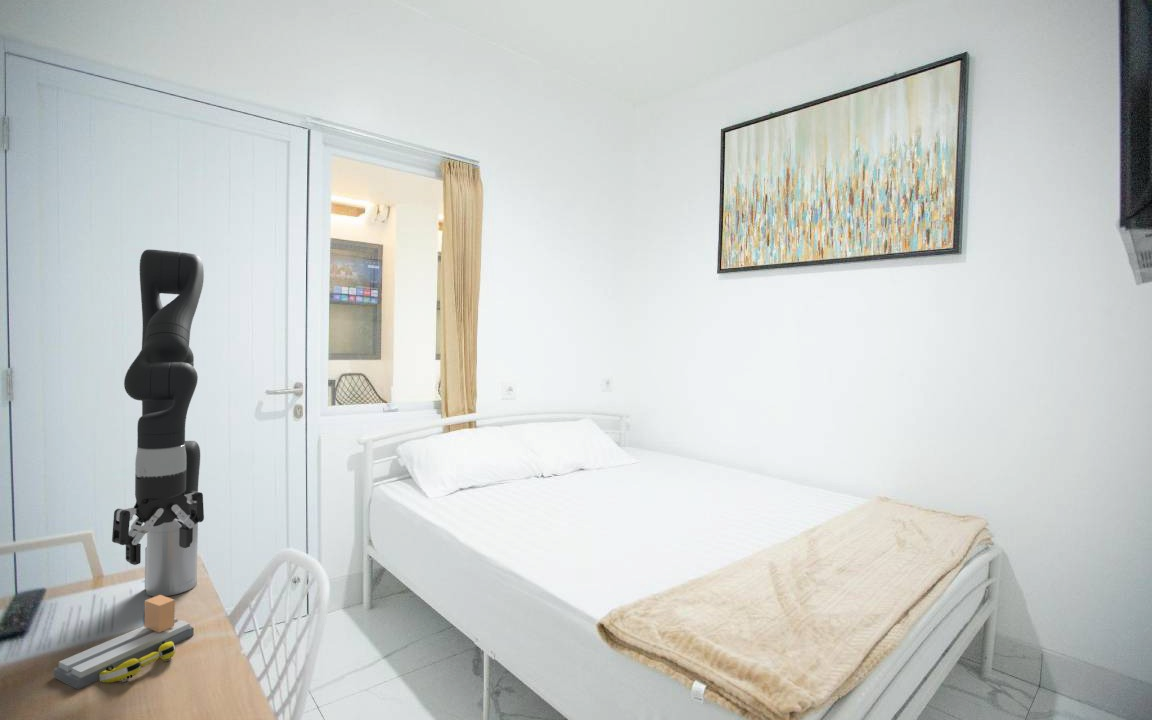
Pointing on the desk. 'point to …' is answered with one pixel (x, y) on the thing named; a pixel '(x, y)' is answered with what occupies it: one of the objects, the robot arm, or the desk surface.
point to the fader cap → (159, 613)
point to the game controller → (136, 664)
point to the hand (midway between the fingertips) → (160, 555)
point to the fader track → (117, 653)
